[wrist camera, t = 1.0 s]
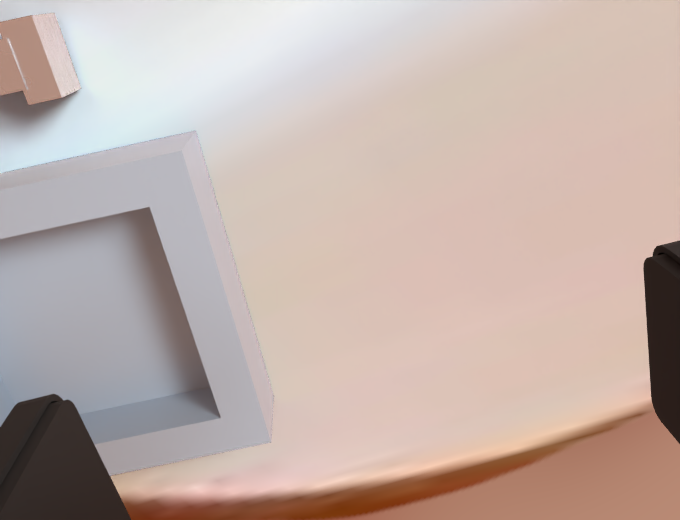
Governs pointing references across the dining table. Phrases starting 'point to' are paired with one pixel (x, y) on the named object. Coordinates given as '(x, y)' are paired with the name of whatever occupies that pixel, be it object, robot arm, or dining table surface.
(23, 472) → the robot arm
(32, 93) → the key
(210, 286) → the grey square tray
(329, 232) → the dining table surface
